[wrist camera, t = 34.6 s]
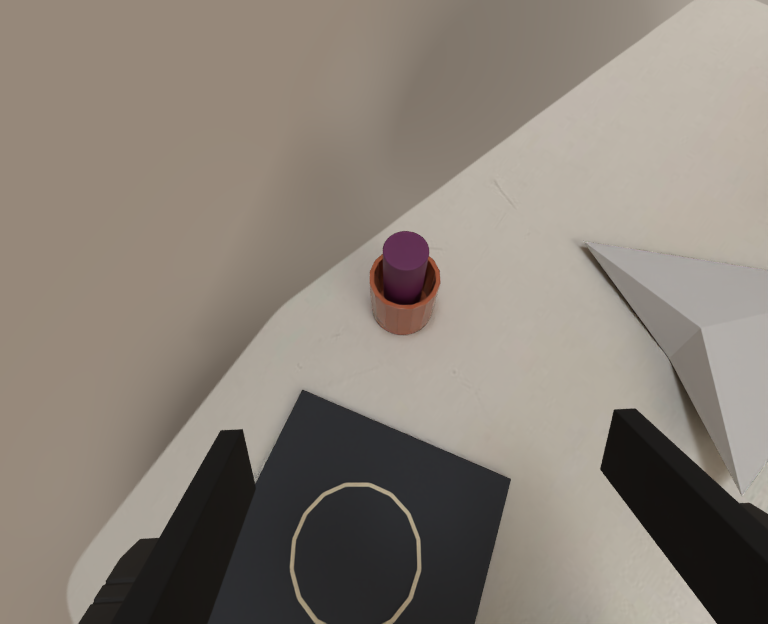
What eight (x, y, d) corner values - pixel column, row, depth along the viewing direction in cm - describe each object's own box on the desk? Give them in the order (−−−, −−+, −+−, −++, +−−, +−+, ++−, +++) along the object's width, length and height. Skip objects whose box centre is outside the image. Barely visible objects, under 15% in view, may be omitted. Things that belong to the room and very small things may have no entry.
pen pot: (363, 322, 38) (358, 294, 32) (385, 273, 40) (385, 238, 34) (419, 343, 37) (426, 319, 31) (439, 292, 39) (449, 260, 33)
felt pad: (181, 637, 28) (176, 641, 27) (303, 390, 35) (302, 389, 34) (431, 783, 24) (433, 792, 24) (509, 478, 32) (511, 479, 31)
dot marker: (378, 314, 37) (375, 261, 28) (391, 285, 39) (393, 225, 29) (411, 327, 37) (419, 276, 27) (423, 297, 38) (435, 239, 29)
